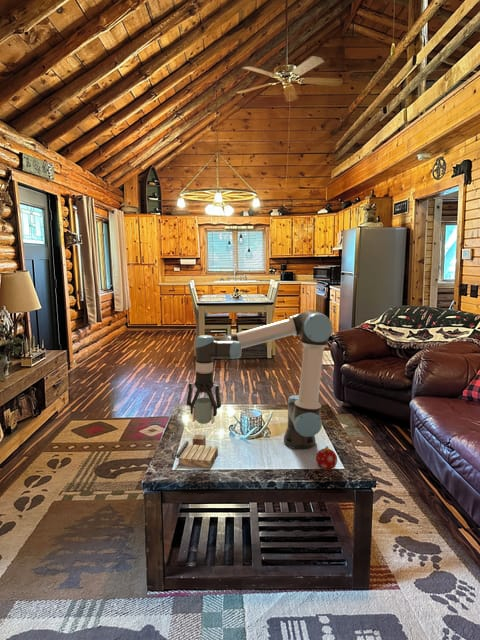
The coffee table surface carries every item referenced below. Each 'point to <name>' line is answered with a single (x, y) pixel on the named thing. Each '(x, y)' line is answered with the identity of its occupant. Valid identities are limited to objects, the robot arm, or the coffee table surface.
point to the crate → (199, 440)
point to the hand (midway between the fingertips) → (203, 421)
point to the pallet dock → (197, 455)
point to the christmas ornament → (326, 459)
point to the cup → (203, 410)
